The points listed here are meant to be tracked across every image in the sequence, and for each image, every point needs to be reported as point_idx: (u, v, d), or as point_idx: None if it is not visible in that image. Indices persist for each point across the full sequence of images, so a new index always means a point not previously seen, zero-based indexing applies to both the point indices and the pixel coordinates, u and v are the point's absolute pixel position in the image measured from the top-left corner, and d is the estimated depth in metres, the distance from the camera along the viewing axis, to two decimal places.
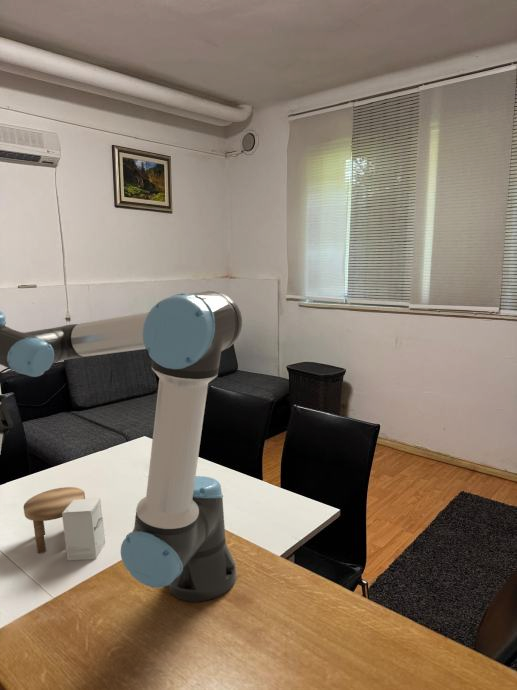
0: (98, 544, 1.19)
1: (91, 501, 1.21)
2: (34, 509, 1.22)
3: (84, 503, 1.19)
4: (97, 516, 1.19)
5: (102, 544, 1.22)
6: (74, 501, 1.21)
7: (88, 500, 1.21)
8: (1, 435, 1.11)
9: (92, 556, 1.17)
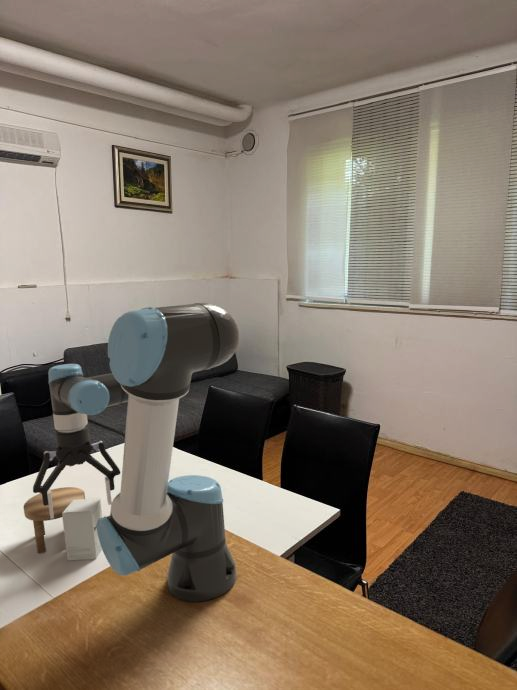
0: (98, 544, 1.19)
1: (91, 501, 1.21)
2: (34, 509, 1.22)
3: (84, 503, 1.19)
4: (97, 516, 1.19)
5: None
6: (74, 501, 1.21)
7: (88, 500, 1.21)
8: (107, 481, 1.20)
9: (92, 556, 1.17)
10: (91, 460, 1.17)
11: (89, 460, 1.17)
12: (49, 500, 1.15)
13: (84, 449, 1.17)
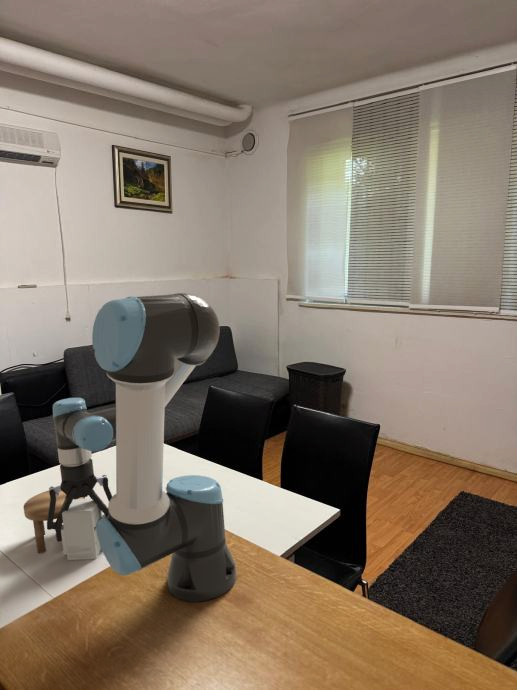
0: (98, 543, 1.19)
1: (91, 500, 1.21)
2: (34, 509, 1.22)
3: (84, 503, 1.19)
4: (97, 515, 1.19)
5: None
6: (74, 501, 1.21)
7: (88, 499, 1.21)
8: None
9: (92, 556, 1.17)
10: (93, 495, 1.18)
11: (91, 495, 1.18)
12: (62, 536, 1.16)
13: (88, 481, 1.18)
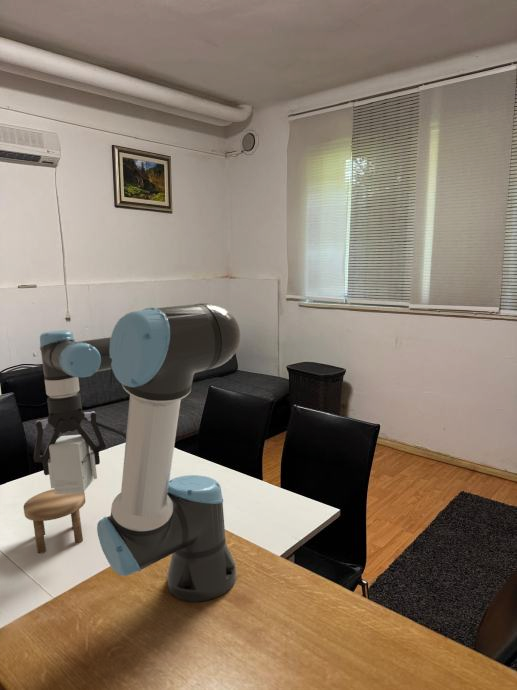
0: (86, 478, 1.18)
1: (79, 436, 1.20)
2: (34, 509, 1.22)
3: (72, 438, 1.18)
4: (84, 450, 1.18)
5: (90, 480, 1.21)
6: (62, 437, 1.20)
7: (76, 435, 1.20)
8: (92, 455, 1.19)
9: (80, 490, 1.16)
10: (81, 429, 1.17)
11: (79, 429, 1.17)
12: (50, 469, 1.15)
13: (76, 415, 1.17)
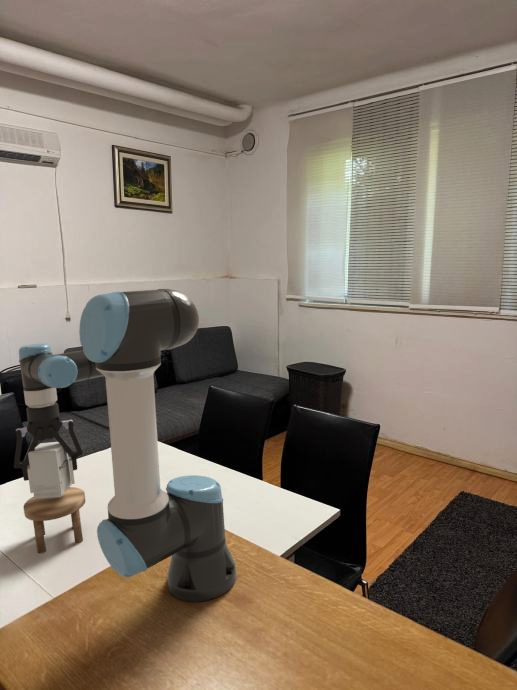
0: (64, 483, 1.25)
1: (57, 443, 1.26)
2: (34, 509, 1.22)
3: (50, 445, 1.25)
4: (62, 456, 1.25)
5: (68, 485, 1.28)
6: (41, 444, 1.27)
7: (55, 442, 1.27)
8: (70, 461, 1.26)
9: (58, 494, 1.23)
10: (59, 437, 1.24)
11: (56, 437, 1.24)
12: (29, 475, 1.22)
13: (54, 424, 1.24)
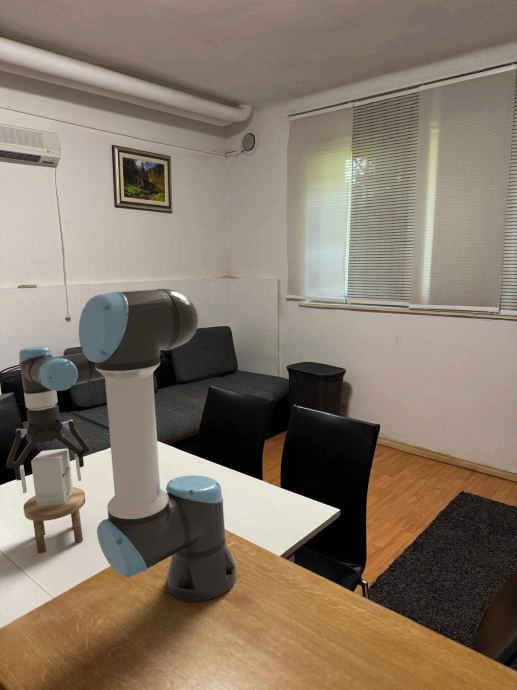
0: (67, 490, 1.25)
1: (59, 450, 1.27)
2: (34, 509, 1.22)
3: (53, 453, 1.25)
4: (65, 464, 1.25)
5: (70, 492, 1.28)
6: (42, 452, 1.27)
7: (56, 450, 1.27)
8: (77, 458, 1.27)
9: (61, 502, 1.23)
10: (61, 437, 1.24)
11: (59, 438, 1.24)
12: (21, 475, 1.21)
13: (54, 427, 1.24)
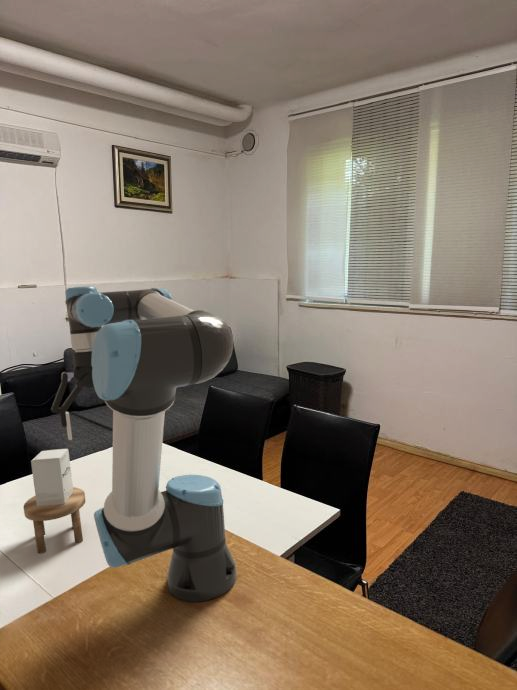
0: (67, 490, 1.25)
1: (59, 450, 1.27)
2: (34, 509, 1.22)
3: (53, 453, 1.25)
4: (65, 464, 1.25)
5: (70, 492, 1.28)
6: (42, 452, 1.27)
7: (56, 450, 1.27)
8: None
9: (61, 502, 1.23)
10: None
11: None
12: (68, 421, 1.15)
13: None
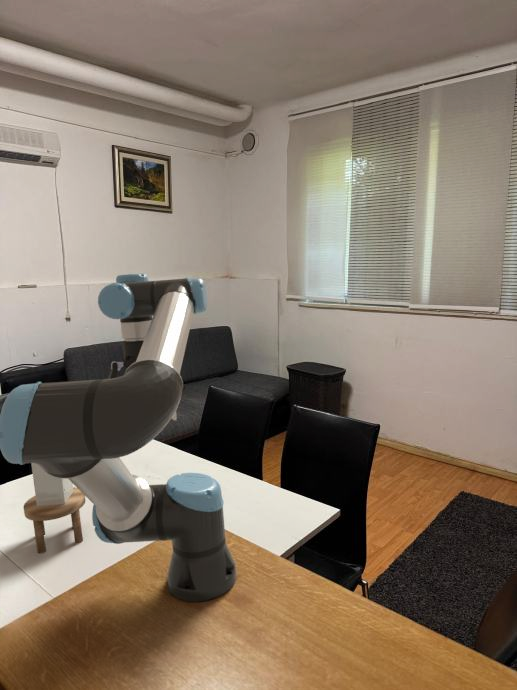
0: (67, 490, 1.25)
1: None
2: (34, 509, 1.22)
3: None
4: None
5: (70, 492, 1.28)
6: None
7: None
8: None
9: (61, 502, 1.23)
10: None
11: None
12: None
13: None
